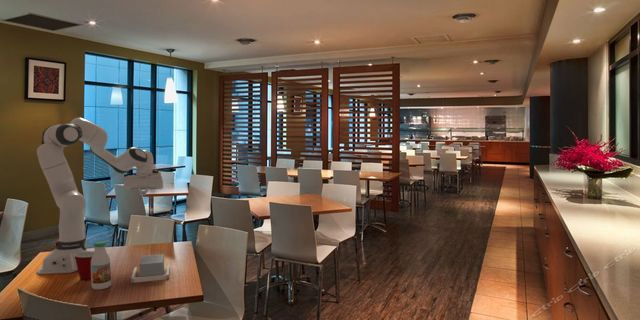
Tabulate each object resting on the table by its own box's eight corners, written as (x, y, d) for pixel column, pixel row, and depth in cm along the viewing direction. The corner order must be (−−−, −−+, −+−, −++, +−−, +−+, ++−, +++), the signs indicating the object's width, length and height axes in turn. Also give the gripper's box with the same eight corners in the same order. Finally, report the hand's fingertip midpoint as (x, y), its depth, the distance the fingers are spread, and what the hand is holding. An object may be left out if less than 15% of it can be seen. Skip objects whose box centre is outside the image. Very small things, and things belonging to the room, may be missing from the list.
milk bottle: (87, 288, 194) (85, 243, 193) (101, 283, 201) (100, 239, 200) (101, 291, 191) (99, 245, 190) (115, 285, 198) (113, 240, 197)
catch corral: (131, 282, 201) (131, 278, 201) (134, 271, 217) (134, 267, 217) (168, 279, 206) (168, 274, 206) (169, 268, 222) (169, 264, 222)
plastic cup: (105, 277, 209) (104, 251, 208) (82, 283, 200) (81, 257, 199) (92, 273, 215) (91, 248, 214) (69, 279, 206) (68, 254, 205)
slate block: (140, 281, 204) (139, 264, 203) (142, 272, 217) (141, 255, 216) (163, 279, 207) (162, 262, 206) (164, 269, 220) (163, 254, 219)
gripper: (123, 171, 245) (121, 191, 237) (163, 171, 251) (162, 190, 243) (125, 179, 250) (123, 198, 241) (163, 178, 256) (163, 197, 247)
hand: (143, 194), depth 242 cm, fingers closed
